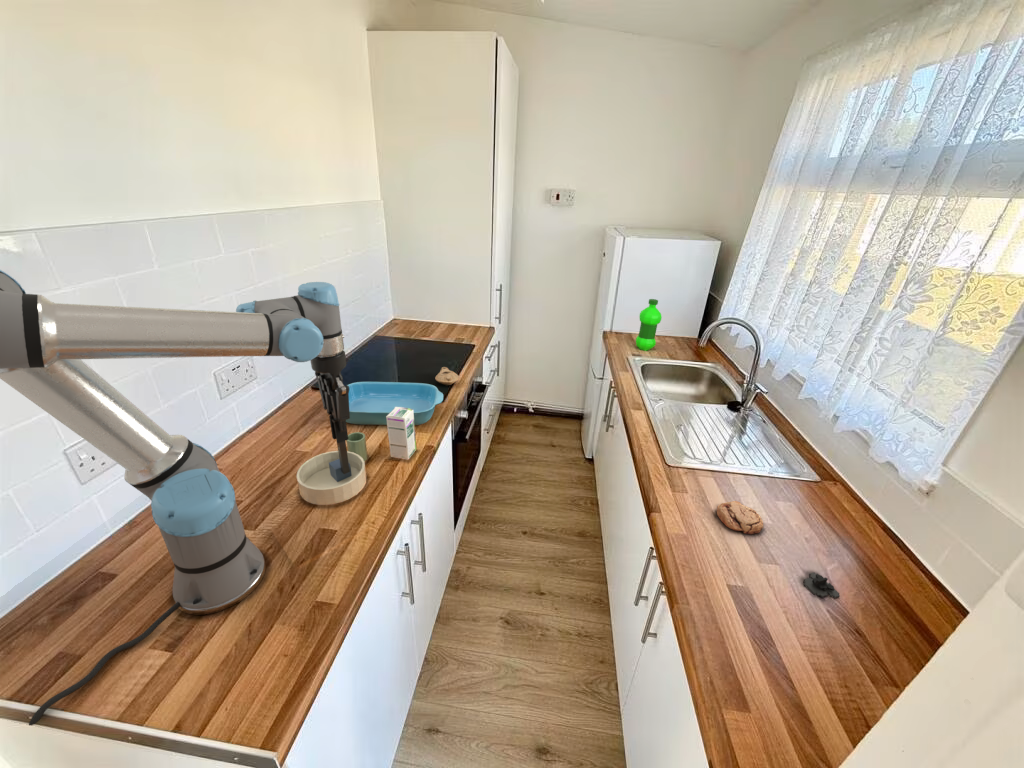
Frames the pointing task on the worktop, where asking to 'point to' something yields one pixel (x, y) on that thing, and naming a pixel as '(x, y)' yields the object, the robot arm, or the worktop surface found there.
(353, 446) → the utensil pot
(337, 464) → the block
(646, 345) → the plastic bottle
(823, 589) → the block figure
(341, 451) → the chopstick
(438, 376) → the pottery oil lamp
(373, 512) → the worktop surface
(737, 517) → the cookie
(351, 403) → the casserole dish
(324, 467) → the bowl
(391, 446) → the syrup box
